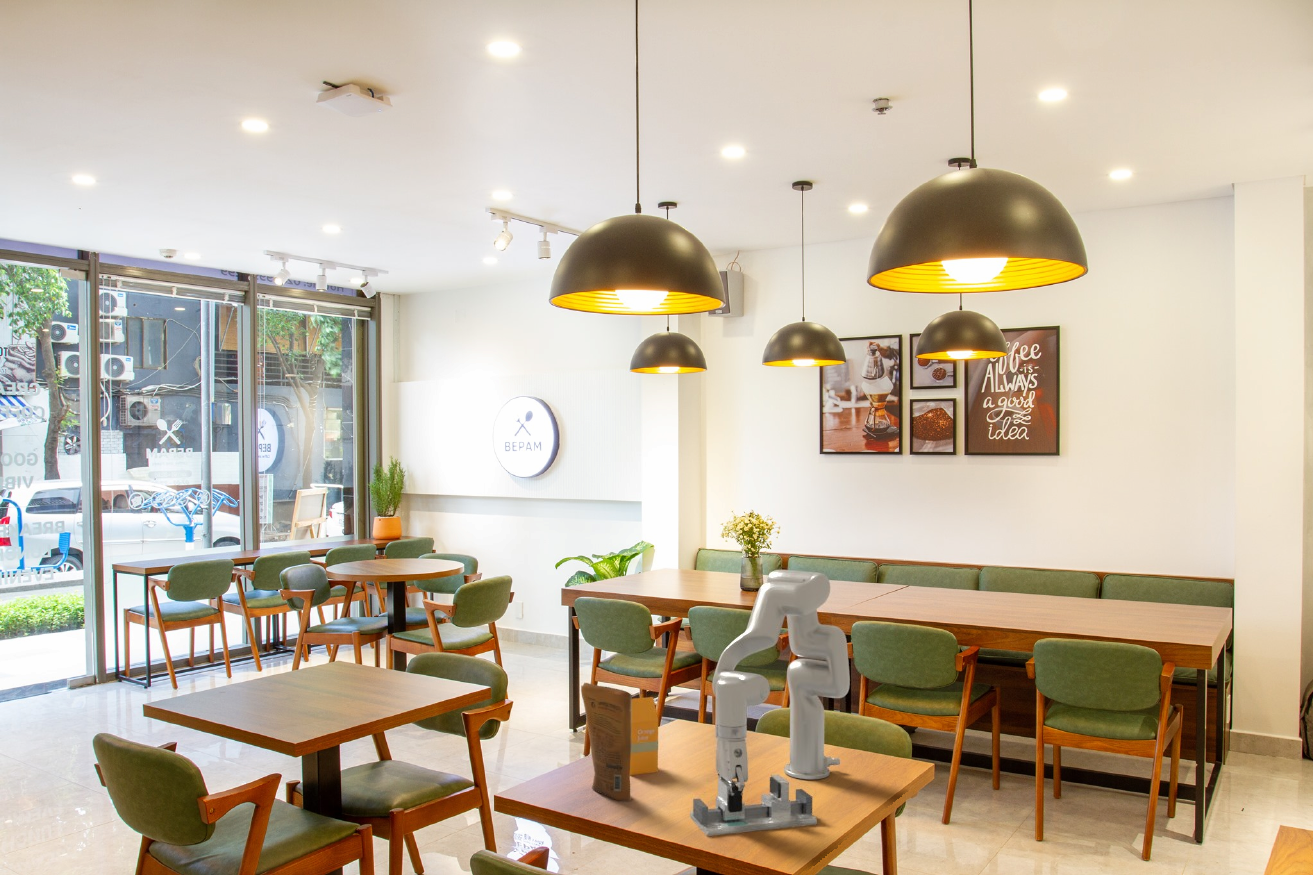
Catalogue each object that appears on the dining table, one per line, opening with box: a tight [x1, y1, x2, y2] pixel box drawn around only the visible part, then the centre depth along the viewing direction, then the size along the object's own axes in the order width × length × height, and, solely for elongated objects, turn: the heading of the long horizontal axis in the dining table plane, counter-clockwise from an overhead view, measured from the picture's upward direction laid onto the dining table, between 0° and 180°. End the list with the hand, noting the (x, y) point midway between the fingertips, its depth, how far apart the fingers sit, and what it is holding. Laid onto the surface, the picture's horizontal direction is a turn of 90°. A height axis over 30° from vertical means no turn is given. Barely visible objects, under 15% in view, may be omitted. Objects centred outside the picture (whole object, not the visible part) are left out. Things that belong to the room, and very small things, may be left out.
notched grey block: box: [715, 777, 746, 820], centre depth 225 cm, size 5×6×8 cm
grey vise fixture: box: [689, 774, 818, 837], centre depth 227 cm, size 29×12×10 cm, turn 107°
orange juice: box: [630, 696, 659, 776], centre depth 265 cm, size 8×9×20 cm
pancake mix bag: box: [580, 682, 633, 802], centre depth 245 cm, size 7×19×28 cm, turn 39°
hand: (730, 805), depth 225 cm, fingers closed on notched grey block, 6 cm apart
